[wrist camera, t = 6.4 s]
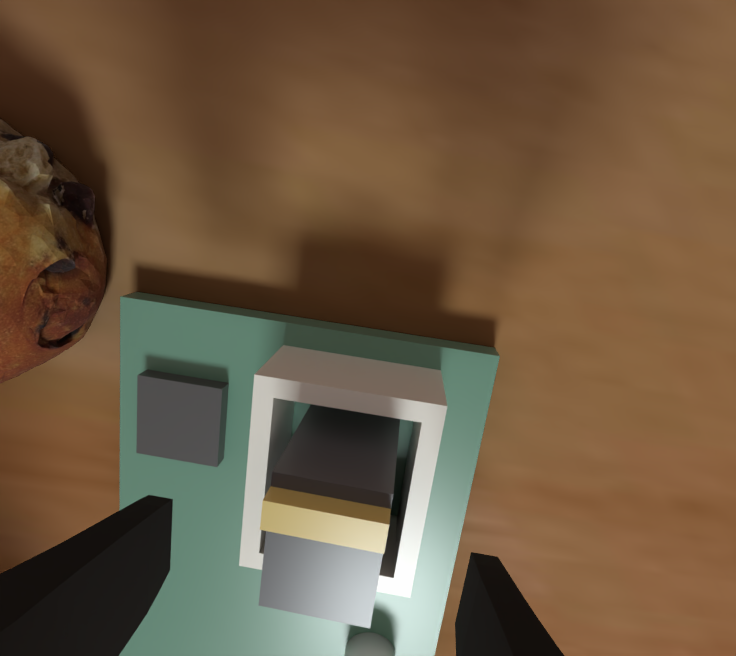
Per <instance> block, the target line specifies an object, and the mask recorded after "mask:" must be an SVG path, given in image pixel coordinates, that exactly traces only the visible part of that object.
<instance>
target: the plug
mask: <svg viewBox="0 0 736 656" xmlns="http://www.w3.org/2000/svg"><path fill="white" fill-rule="evenodd" d="M399 427H400V419H397V418H391V417H385V416H379V415H373V414H367V413H361V412H355V411H349V410H343V409H337V408H331V407H325V406H319V405H313V404H311V405H310V407H309V408H308V410H307V412H306V414H305V415H304V417H303V419H302V421H301V422H300V424H299V426H298V428H297V429H296V431H295V433H294V434H293V436H292V438H291V440H290V441H289V443H288V445H287V447H286V448H285V450H284V452H283V453H282V455H281V457H280V459H279V460H278V462H277V464H276V466H275V467H274V469H273V471H272V476H271V486H270V488H269V490H268V492H267V493H266V495H265V497H264V499H263V502H262V512H261V522H260V530H264V531H266V536H265V546H264V556H263V566H262V576H261V585H260V595H259V606H263V607H268V608H273V609H278V610H283V611H288V612H292V613H297V614H302V615H307V616H312V617H316V618H321V619H326V620H331V621H336V622H341V623H345V624H350V625H355V626H360V627H365V628H369V629H370V626H371V620H372V614H373V608H374V603H375V597H376V591H377V586H378V580H379V574H380V568H381V563H382V557H383V554H384V552H385V547H386V541H387V535H388V530H389V523H390V513H391V505H392V499H393V493H394V482H395V471H396V460H397V449H398V438H399Z"/></svg>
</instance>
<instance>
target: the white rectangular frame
mask: <svg viewBox="0 0 736 656" xmlns="http://www.w3.org/2000/svg"><path fill="white" fill-rule="evenodd" d="M295 402H301V403H307V404H313V405H319V406H325V407H331V408H337V409H343V410H349V411H355V412H361V413H367V414H373V415H379V416H385V417H391V418H397V419H403V420H409V421H414V422H413V427H412V433H411V439H410V444H409V450H408V456H407V461H406V467H405V473H404V478H403V484H402V490H401V495H400V501H399V507H398V512H397V516H394V515H390V523H389V530H388V535H387V541H386V547H385V552H384V554H383V557H382V563H381V568H380V574H379V580H378V586H377V591H376V592H382V593H387V594H392V595H398V596H403V597H408V598H410V596H411V591H412V586H413V581H414V576H415V571H416V565H417V560H418V555H419V550H420V545H421V540H422V535H423V529H424V524H425V519H426V514H427V509H428V504H429V499H430V493H431V488H432V483H433V478H434V473H435V468H436V463H437V457H438V452H439V447H440V442H441V437H442V432H443V427H444V421H445V416H446V411H447V401H446V396H445V390H444V385H443V379H442V374H441V370H436V369H430V368H424V367H417V366H411V365H405V364H399V363H392V362H386V361H380V360H373V359H367V358H361V357H355V356H348V355H342V354H336V353H330V352H323V351H317V350H311V349H305V348H298V347H292V346H286V345H283V346H282V347H281V348H280V349H279V350H278V351H277V352H276V353H275V354H274V355H273V356H272V357H271V358H270V359H269V360H268V361H267V362H266V363H265V364H264V365H263V366H262V367H261V368H260V369H259V370H258V371H257V372H256V373H255V374H254V385H253V397H252V410H251V422H250V435H249V447H248V459H247V472H246V484H245V497H244V509H243V522H242V534H241V547H240V559H239V566H243V567H249V568H254V569H259V570H262V566H263V556H264V546H265V536H266V531H264V530H260V522H261V512H262V502H263V499H264V497H265V495H266V493H267V492H268V490H269V488H270V486H271V476H272V471H273V469H274V467H275V466H276V464H277V462H278V460H279V459H280V457H281V455H282V453H283V452H284V450H285V448H286V447H287V445H288V443H289V441H290V440H291V433H292V423H293V414H294V404H295Z"/></svg>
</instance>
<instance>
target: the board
mask: <svg viewBox="0 0 736 656" xmlns="http://www.w3.org/2000/svg"><path fill="white" fill-rule="evenodd" d="M283 345H286V346H292V347H298V348H305V349H311V350H317V351H323V352H330V353H336V354H342V355H348V356H355V357H361V358H367V359H373V360H380V361H386V362H392V363H399V364H405V365H411V366H417V367H424V368H430V369H436V370H441V374H442V379H443V385H444V390H445V396H446V401H447V411H446V416H445V421H444V427H443V432H442V437H441V442H440V447H439V452H438V457H437V463H436V468H435V473H434V478H433V483H432V488H431V493H430V499H429V504H428V509H427V514H426V519H425V524H424V529H423V535H422V540H421V545H420V550H419V555H418V560H417V565H416V571H415V576H414V581H413V586H412V591H411V596H410V598H408V597H403V596H398V595H392V594H387V593H382V592H376V597H375V603H374V608H373V614H372V620H371V626H370V629H369V628H365V627H360V626H355V625H350V624H345V623H341V622H336V621H331V620H326V619H321V618H316V617H312V616H307V615H302V614H297V613H292V612H288V611H283V610H278V609H273V608H268V607H263V606H259V595H260V585H261V576H262V570H259V569H254V568H249V567H243V566H239V559H240V547H241V534H242V522H243V509H244V497H245V484H246V472H247V459H248V447H249V435H250V422H251V410H252V397H253V385H254V374H255V373H256V372H257V371H258V370H259V369H260V368H261V367H262V366H263V365H264V364H265V363H266V362H267V361H268V360H269V359H270V358H271V357H272V356H273V355H274V354H275V353H276V352H277V351H278V350H279V349H280V348H281V347H282V346H283ZM499 357H500V356H499V354H498V353H497V351H496V349H495V348H493V347H487V346H481V345H474V344H468V343H461V342H455V341H449V340H442V339H436V338H429V337H423V336H417V335H410V334H404V333H397V332H391V331H385V330H378V329H372V328H365V327H359V326H353V325H346V324H340V323H333V322H327V321H321V320H314V319H308V318H301V317H295V316H289V315H282V314H276V313H269V312H263V311H257V310H250V309H244V308H237V307H231V306H225V305H218V304H212V303H205V302H199V301H193V300H186V299H180V298H173V297H167V296H161V295H154V294H148V293H141V292H135V293H131V294H128V295H124V296H121V297H120V510H121V509H123V508H125V507H127V506H129V505H130V504H132V503H134V502H136V501H138V500H139V499H141V498H143V497H145V496H147V495H153V496H159V497H164V498H170V499H173V510H172V535H171V560H170V571H169V573H168V575H167V577H166V579H165V581H164V583H163V585H162V587H161V589H160V591H159V593H158V595H157V597H156V598H155V600H154V602H153V604H152V606H151V608H150V609H149V611H148V613H147V615H146V616H145V618H144V619H143V621H142V622H141V624H140V625H139V627H138V628H137V630H136V631H135V633H134V634H133V636H132V637H131V639H130V640H129V642H128V643H127V644H126V646H125V647H124V649H123V650H122V652H121V653H120V655H119V656H434V655H435V650H436V646H437V641H438V637H439V632H440V627H441V623H442V618H443V614H444V609H445V604H446V600H447V595H448V591H449V586H450V582H451V577H452V572H453V568H454V563H455V559H456V554H457V550H458V545H459V540H460V536H461V531H462V527H463V522H464V518H465V513H466V508H467V504H468V499H469V495H470V490H471V485H472V481H473V476H474V472H475V467H476V463H477V458H478V453H479V449H480V444H481V440H482V435H483V431H484V426H485V421H486V417H487V412H488V408H489V403H490V399H491V394H492V389H493V385H494V380H495V376H496V371H497V366H498V362H499ZM310 405H311V404H307V403H301V402H295V404H294V414H293V423H292V433H291V438H292V436H293V434H294V433H295V431H296V429H297V428H298V426H299V424H300V422H301V421H302V419H303V417H304V415H305V414H306V412H307V410H308V408H309V407H310ZM413 422H414V421H409V420H403V419H400V427H399V438H398V449H397V460H396V471H395V482H394V493H393V499H392V505H391V513H390V515H394V516H397V512H398V507H399V501H400V495H401V490H402V484H403V478H404V473H405V467H406V461H407V456H408V450H409V444H410V439H411V433H412V427H413Z"/></svg>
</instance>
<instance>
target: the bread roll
mask: <svg viewBox="0 0 736 656" xmlns="http://www.w3.org/2000/svg"><path fill="white" fill-rule="evenodd" d="M94 210H95V195H94V193H93V190H92V189H91V188H89V187H87V186H86V185H83V184H81V183H79V182H78V181H77V179H76V178H75V177H74V175H73V174H72V173H70V172H69V171H68V170H67V169H66V168H65V167H63V166H62V165H61V164H60V163H59V162H58V161H57V160H56V159H55V158H54V157H53V152H52V151H51V150H50V148H49V147H48V146H47V145H45V144H44V143H42V142H40V141H38V140H37V139H35V138H32V137H24V136H22V135H21V134H20V133H19V132H17V131H15V130H14V129H13V128H11V127H10V126H9V125H8V124H7V123H6V122H5V121H3V120H1V119H0V383H2V382H4V381H7V380H9V379H12V378H14V377H17V376H19V375H21V374H22V373H24V372H26V371H28V370H30V369H32V368H34V367H36V366H39V365H41V364H43V363H45V362H47V361H48V360H50V359H52V358H54V357H56V356H57V355H59V354H60V353H62V352H63V351H65V350H67V349H69V348H70V347H71V346H73V345H74V344H75V343H77V342H78V341H79V340H80V339H82V338H83V337H84V335H85V334H86V332H87V330H88V329H89V327H90V325H91V323H92V321H93V318H94V316H95V314H96V312H97V310H98V307H99V305H100V303H101V301H102V299H103V296H104V290H105V282H106V266H107V258H106V255H105V252H104V248H103V245H102V241H101V237H100V233H99V229H98V226H97V224H96V221H95V215H94Z"/></svg>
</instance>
